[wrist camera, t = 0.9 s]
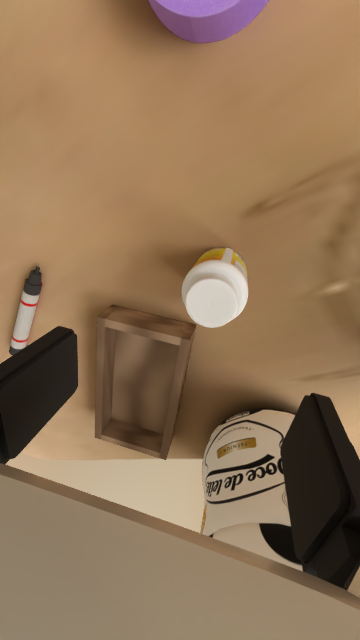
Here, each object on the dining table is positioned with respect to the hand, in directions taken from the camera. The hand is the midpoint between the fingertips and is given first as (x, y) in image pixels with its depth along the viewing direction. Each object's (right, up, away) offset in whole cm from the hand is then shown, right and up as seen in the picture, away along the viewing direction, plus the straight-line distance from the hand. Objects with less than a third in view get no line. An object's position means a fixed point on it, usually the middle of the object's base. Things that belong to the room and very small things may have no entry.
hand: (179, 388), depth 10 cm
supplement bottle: (+5, +8, +18) cm, 20 cm away
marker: (-21, +4, +26) cm, 34 cm away
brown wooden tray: (-5, -5, +26) cm, 27 cm away
